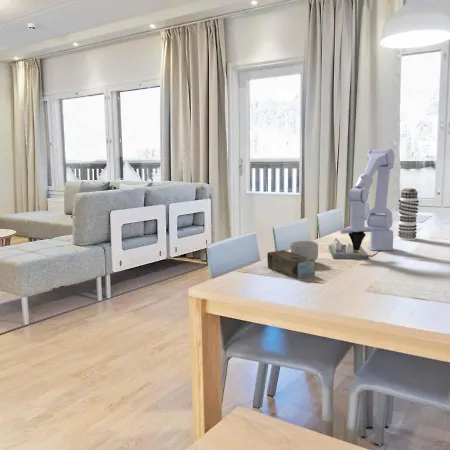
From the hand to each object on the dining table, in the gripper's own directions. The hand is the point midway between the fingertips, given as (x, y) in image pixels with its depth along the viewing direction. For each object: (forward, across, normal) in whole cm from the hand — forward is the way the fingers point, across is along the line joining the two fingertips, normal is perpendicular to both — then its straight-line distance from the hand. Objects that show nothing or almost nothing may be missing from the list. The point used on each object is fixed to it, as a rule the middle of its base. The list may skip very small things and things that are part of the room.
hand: (356, 250), depth 190 cm
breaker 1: (+1, +1, -15) cm, 15 cm away
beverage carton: (+3, +36, +12) cm, 38 cm away
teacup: (+3, +24, 0) cm, 24 cm away
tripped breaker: (+1, +3, -1) cm, 3 cm away
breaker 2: (+1, +3, -9) cm, 9 cm away
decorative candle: (+3, -47, -27) cm, 55 cm away
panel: (+3, 0, -7) cm, 8 cm away
